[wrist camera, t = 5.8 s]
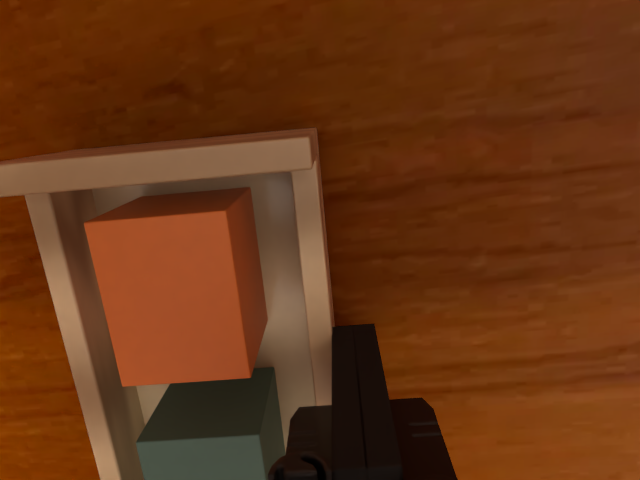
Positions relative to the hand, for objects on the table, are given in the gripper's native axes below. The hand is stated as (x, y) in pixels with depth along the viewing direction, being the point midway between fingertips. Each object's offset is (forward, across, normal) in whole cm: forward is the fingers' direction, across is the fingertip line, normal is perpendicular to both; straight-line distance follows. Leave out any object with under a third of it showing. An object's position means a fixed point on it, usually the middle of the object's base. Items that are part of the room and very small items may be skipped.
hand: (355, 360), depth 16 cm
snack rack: (+3, -5, 0) cm, 6 cm away
